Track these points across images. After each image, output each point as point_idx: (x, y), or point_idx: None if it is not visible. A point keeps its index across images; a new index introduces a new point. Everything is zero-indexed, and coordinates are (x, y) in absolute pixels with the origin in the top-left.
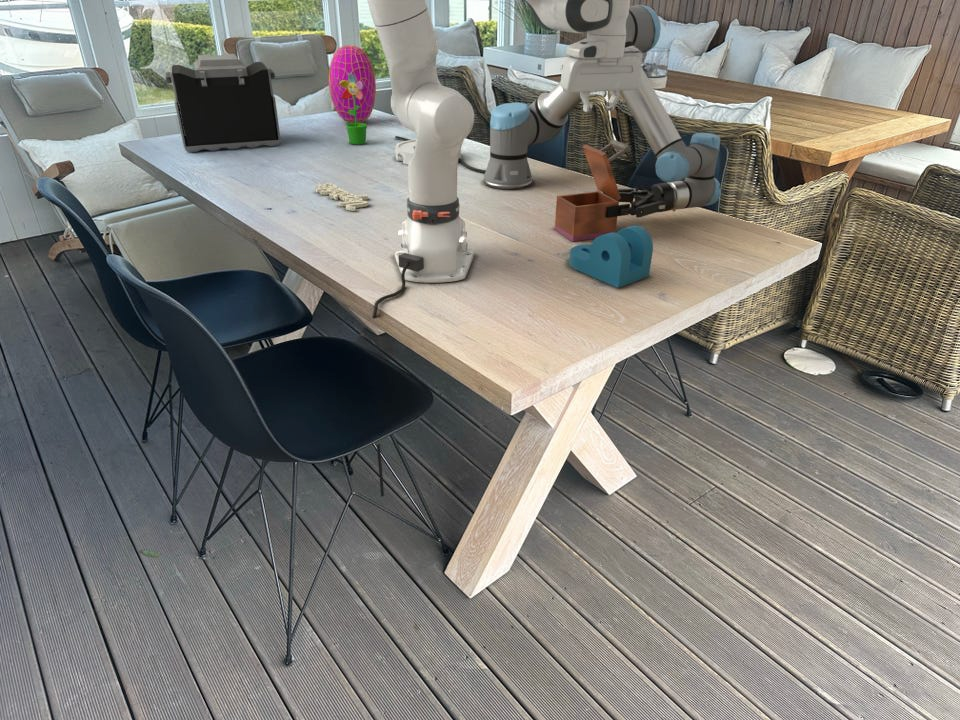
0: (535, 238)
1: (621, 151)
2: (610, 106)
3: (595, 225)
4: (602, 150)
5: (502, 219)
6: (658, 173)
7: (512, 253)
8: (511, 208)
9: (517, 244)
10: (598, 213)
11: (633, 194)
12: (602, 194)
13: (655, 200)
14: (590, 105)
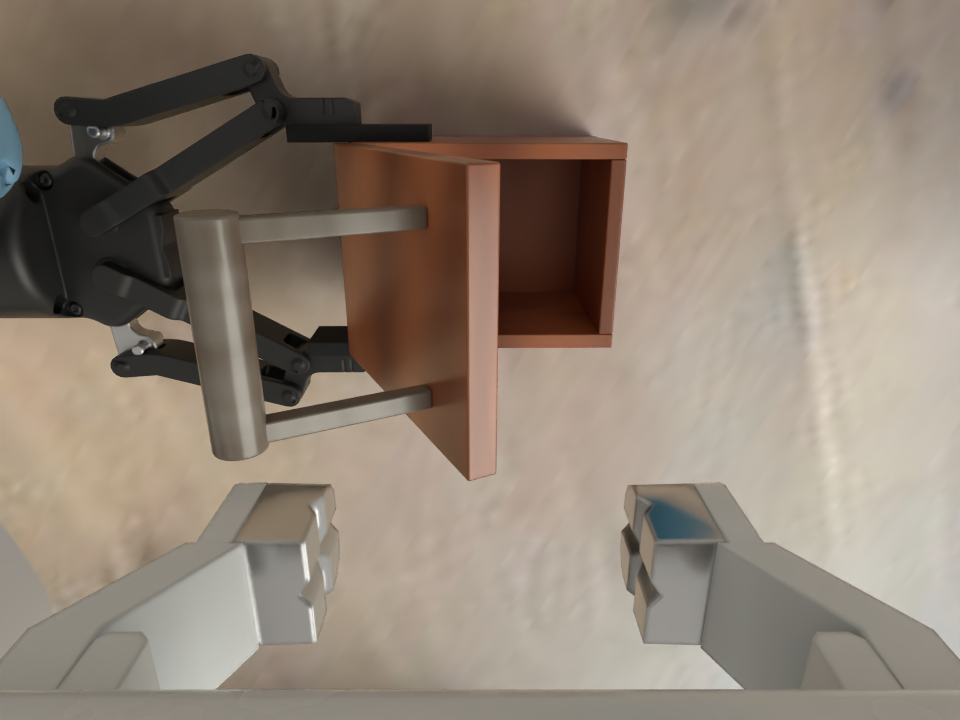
0: (713, 230)
1: (273, 220)
2: (291, 511)
3: (485, 138)
4: (351, 403)
5: (708, 464)
6: (11, 145)
7: (900, 104)
8: (610, 555)
9: (819, 194)
10: (476, 140)
11: (177, 292)
12: None
13: (97, 166)
14: (691, 530)
